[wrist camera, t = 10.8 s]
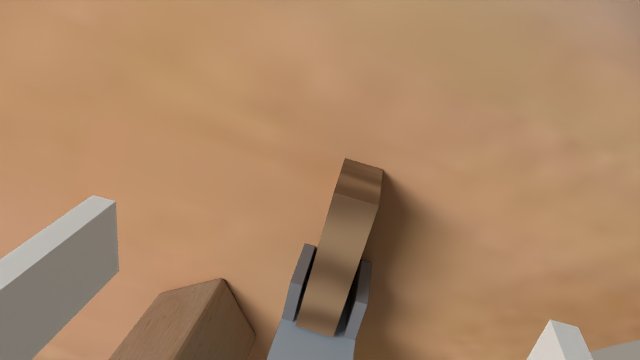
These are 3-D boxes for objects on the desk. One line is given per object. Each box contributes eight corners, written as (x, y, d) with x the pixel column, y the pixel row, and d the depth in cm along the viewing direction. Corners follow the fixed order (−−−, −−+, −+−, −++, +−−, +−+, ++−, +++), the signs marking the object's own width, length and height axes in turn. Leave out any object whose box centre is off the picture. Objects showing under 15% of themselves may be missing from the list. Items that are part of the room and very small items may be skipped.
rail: (344, 157, 44) (332, 192, 37) (383, 169, 44) (380, 206, 37) (309, 277, 51) (294, 325, 44) (343, 287, 51) (333, 338, 44)
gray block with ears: (304, 243, 49) (262, 354, 35) (372, 262, 49) (359, 384, 34) (287, 313, 54) (244, 437, 39) (348, 332, 53) (328, 464, 39)
